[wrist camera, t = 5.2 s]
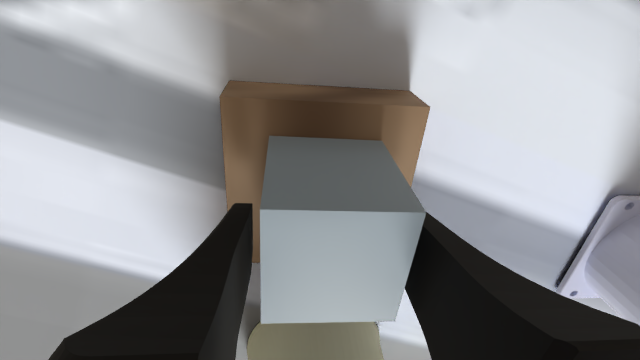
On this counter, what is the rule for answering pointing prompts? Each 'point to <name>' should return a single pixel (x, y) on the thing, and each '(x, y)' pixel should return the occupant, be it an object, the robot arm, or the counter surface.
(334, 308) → the block
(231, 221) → the robot arm
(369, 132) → the slab
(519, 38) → the counter surface
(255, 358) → the can
